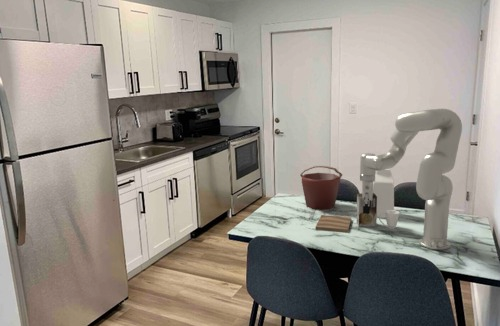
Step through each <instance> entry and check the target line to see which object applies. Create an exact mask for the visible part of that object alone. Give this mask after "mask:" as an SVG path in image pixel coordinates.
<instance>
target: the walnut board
mask: <svg viewBox="0 0 500 326" xmlns="http://www.w3.org/2000/svg"><path fill="white" fill-rule="evenodd" d="M351 222H352V217H351V216H337V215H326V214H325V215H324V214H321V215H320V217H319V219H318V221H317V223H316V225H315V230H317V231H318V230H319V231H329V232H330V231H331V232H340V233H349V230H350V226H351Z"/></svg>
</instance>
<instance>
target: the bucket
mask: <svg viewBox="0 0 500 326" xmlns="http://www.w3.org/2000/svg"><path fill="white" fill-rule="evenodd" d="M315 168H323V169H325V168H326V169H329V170H333V171H334V172H335V173H336V174H335V173H326V172H325V173H324V172H314V173H305V172H307V171H309V170H312V169H315ZM337 174H338V175H337ZM300 177H301V184H302V185H301V187H302V190H303V191H302V192H303V195H304V196H303V197H304V201H305V207H306V208H308V207H309V209H311V208H312V210H314V209H315V211H316V210H317V211H321V210H322V211H326V210H327V211H329V210H330V209H333V208H335V206H336V202H337V199H338V192H339V187H340V183H341V178H342V177H343V173H341V172H340V171H339V170H338V169H337V168H335V167H332V166H328V165H327V166H326V165H314V166H311V167H307V168H306V169H304V170H303V171H302V172H301V173H300Z"/></svg>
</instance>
